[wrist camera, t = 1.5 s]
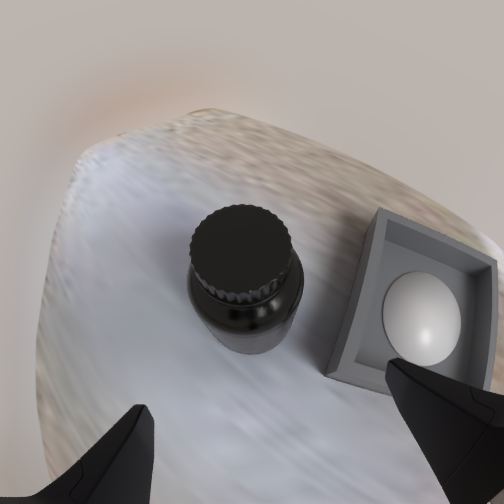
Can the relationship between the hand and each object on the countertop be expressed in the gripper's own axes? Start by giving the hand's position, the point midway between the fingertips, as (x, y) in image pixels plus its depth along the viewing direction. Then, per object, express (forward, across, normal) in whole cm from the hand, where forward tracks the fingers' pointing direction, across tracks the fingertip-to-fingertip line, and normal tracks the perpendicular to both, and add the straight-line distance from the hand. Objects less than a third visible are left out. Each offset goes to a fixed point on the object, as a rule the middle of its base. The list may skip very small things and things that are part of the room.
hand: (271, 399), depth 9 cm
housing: (+11, -15, +7) cm, 20 cm away
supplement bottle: (+14, 0, +4) cm, 15 cm away
